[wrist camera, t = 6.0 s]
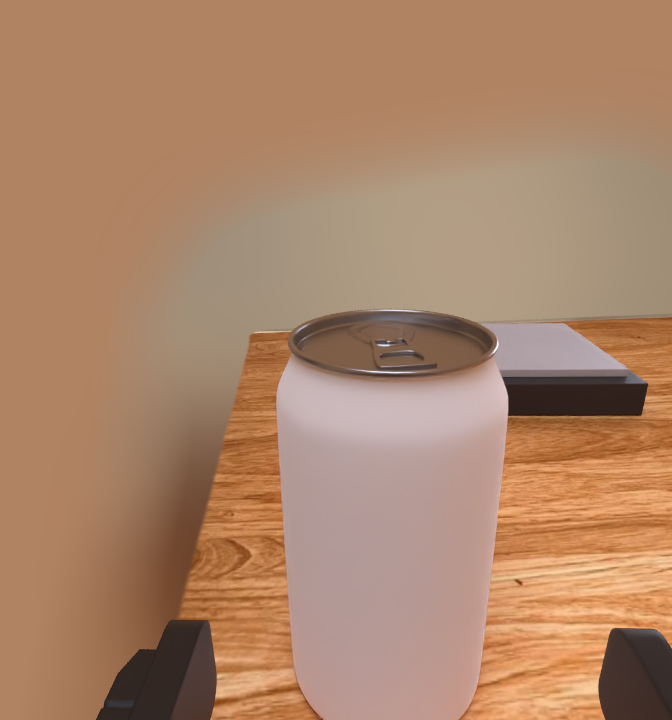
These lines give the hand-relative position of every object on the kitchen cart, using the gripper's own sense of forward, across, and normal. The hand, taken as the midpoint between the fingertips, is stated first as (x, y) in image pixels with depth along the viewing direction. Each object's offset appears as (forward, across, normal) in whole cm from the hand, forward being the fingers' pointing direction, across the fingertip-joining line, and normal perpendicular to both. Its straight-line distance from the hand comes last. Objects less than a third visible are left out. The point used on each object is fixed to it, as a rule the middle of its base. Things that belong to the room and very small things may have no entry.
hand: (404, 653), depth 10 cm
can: (+6, 0, +7) cm, 9 cm away
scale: (+32, -12, +7) cm, 35 cm away
